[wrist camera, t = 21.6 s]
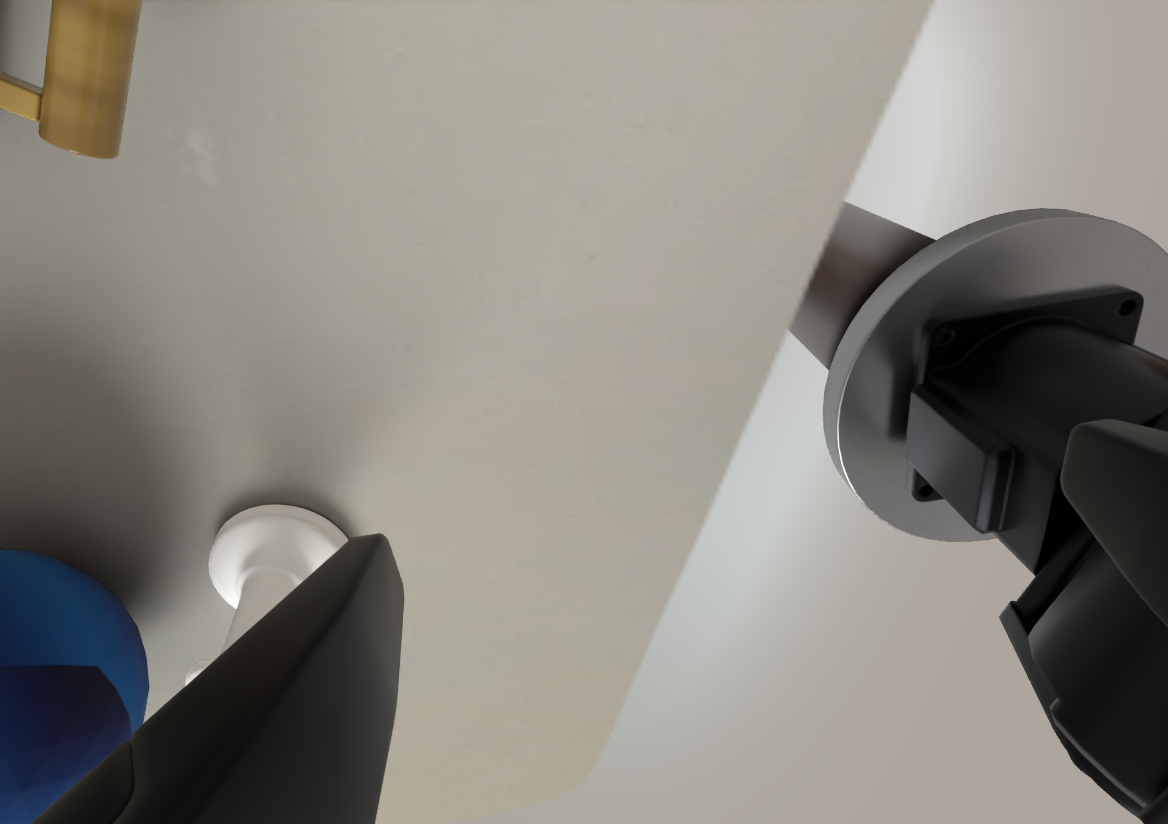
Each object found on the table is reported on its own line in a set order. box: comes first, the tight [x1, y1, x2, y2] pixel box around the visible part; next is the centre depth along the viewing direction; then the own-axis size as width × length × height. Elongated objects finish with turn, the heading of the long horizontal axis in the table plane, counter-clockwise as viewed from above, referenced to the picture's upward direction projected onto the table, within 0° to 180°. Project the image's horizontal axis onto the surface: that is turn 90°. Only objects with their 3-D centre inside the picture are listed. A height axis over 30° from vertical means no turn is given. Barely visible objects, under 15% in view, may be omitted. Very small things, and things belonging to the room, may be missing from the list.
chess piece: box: [185, 504, 349, 686], centre depth 20 cm, size 5×5×10 cm
